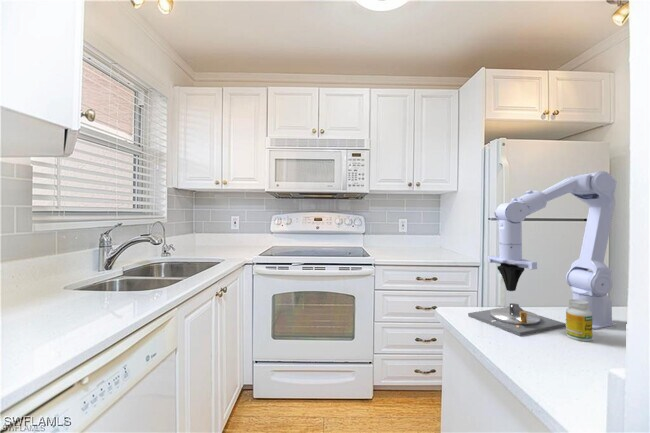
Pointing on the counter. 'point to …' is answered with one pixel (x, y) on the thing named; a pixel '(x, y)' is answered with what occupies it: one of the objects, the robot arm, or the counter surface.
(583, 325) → the supplement bottle
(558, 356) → the counter surface
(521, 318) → the dial
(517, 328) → the dial plate
